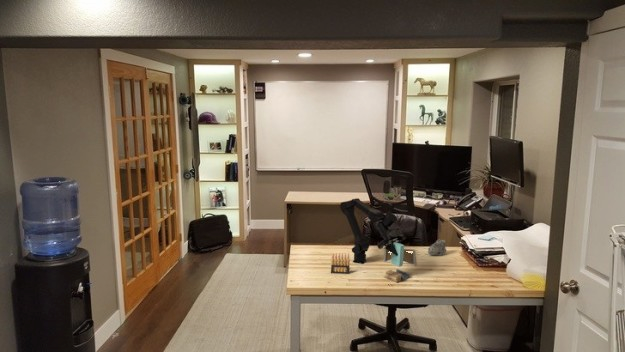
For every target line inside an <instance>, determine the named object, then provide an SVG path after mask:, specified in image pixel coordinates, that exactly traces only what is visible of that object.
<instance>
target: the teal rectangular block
mask: <svg viewBox="0 0 625 352" xmlns="http://www.w3.org/2000/svg"><path fill="white" fill-rule="evenodd" d="M394 248H395V249H396V251H397V253H398V256H396V255H395V254H393V253H392V255H391V260H390V262H391V263H390V264H391V265H393V266H396V267H399V268H400V267H403V266H404V264H403V263H404V261H403V255H404V249H405V245H404V244H402V243H400V244H399V243H397V242H395V243H394Z"/></svg>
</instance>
